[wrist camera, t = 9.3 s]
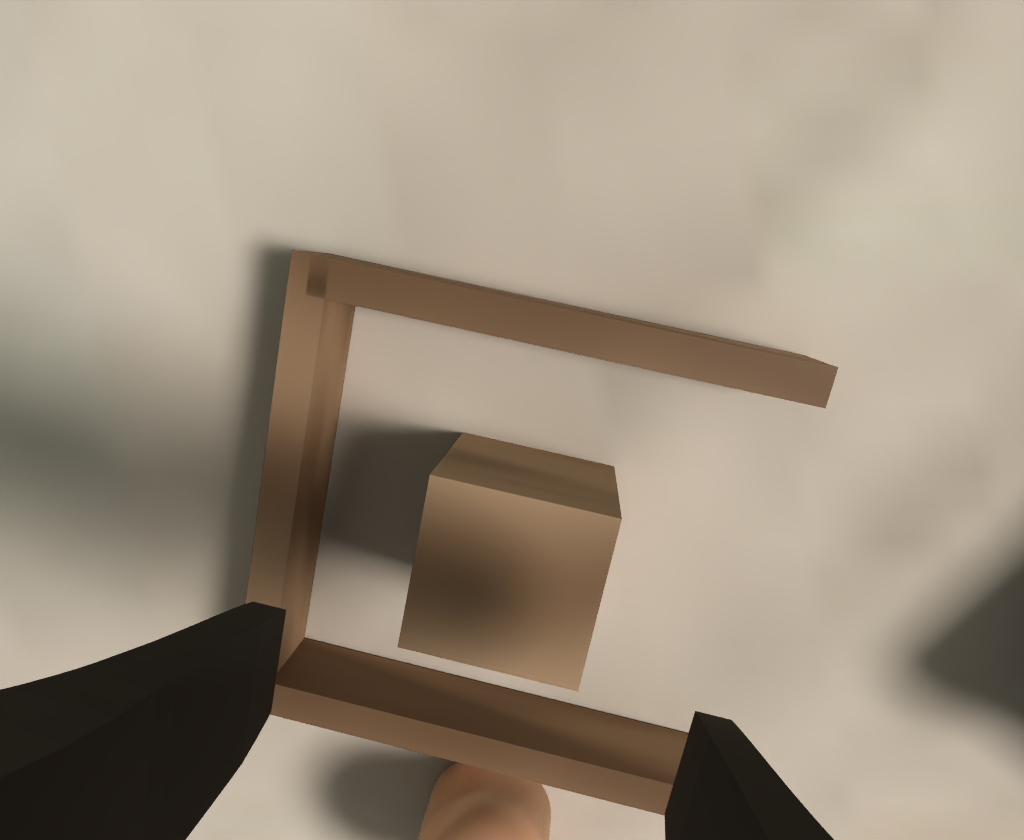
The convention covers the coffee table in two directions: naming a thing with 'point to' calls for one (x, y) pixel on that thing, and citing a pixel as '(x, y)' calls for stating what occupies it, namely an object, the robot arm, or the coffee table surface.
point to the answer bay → (300, 506)
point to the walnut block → (512, 560)
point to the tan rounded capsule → (485, 807)
